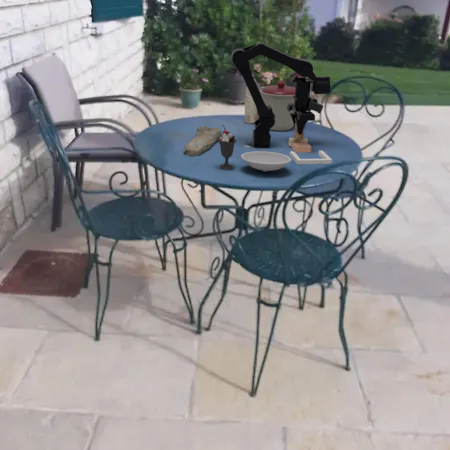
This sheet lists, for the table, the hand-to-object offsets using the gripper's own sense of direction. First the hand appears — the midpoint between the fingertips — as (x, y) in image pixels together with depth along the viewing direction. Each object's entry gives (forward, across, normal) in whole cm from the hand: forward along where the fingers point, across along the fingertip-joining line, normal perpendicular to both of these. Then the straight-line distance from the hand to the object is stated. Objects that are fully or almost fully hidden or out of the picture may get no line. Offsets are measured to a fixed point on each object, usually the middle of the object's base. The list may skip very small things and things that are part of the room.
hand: (298, 133), depth 221 cm
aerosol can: (+6, +40, +11) cm, 42 cm away
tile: (+6, -5, 0) cm, 8 cm away
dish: (+6, -29, +20) cm, 36 cm away
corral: (+5, -16, 0) cm, 17 cm away
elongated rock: (+6, +6, +38) cm, 39 cm away
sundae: (+6, -24, +33) cm, 41 cm away
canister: (+6, +29, +1) cm, 29 cm away
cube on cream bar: (+5, 0, 0) cm, 5 cm away
